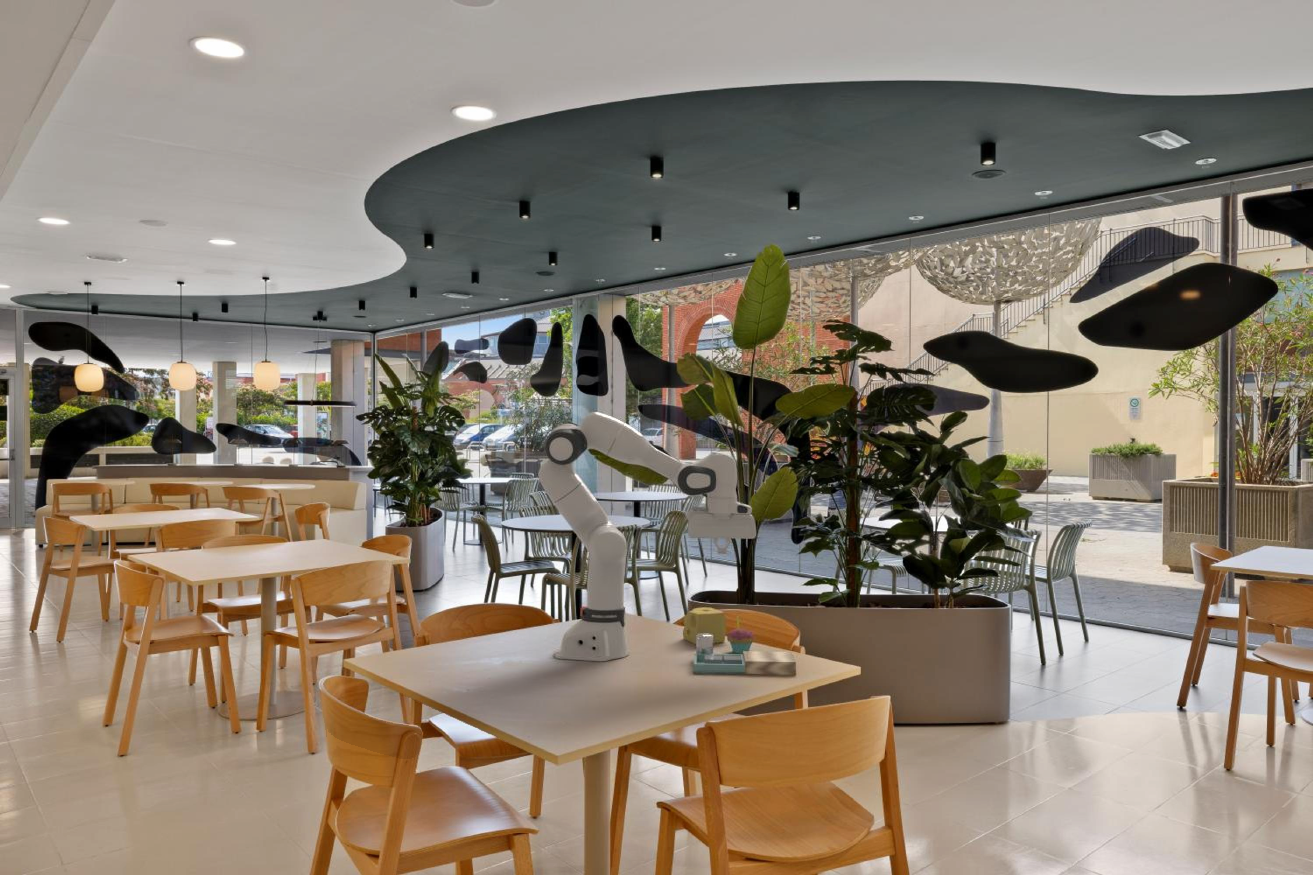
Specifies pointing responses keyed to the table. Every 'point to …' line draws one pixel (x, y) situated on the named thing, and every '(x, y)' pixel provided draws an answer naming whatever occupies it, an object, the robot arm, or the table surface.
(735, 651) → the cupcake
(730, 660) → the tile
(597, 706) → the table surface
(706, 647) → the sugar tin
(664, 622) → the table surface
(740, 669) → the tray
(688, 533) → the robot arm
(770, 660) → the board
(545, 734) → the table surface
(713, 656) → the tile
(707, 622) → the cheese
